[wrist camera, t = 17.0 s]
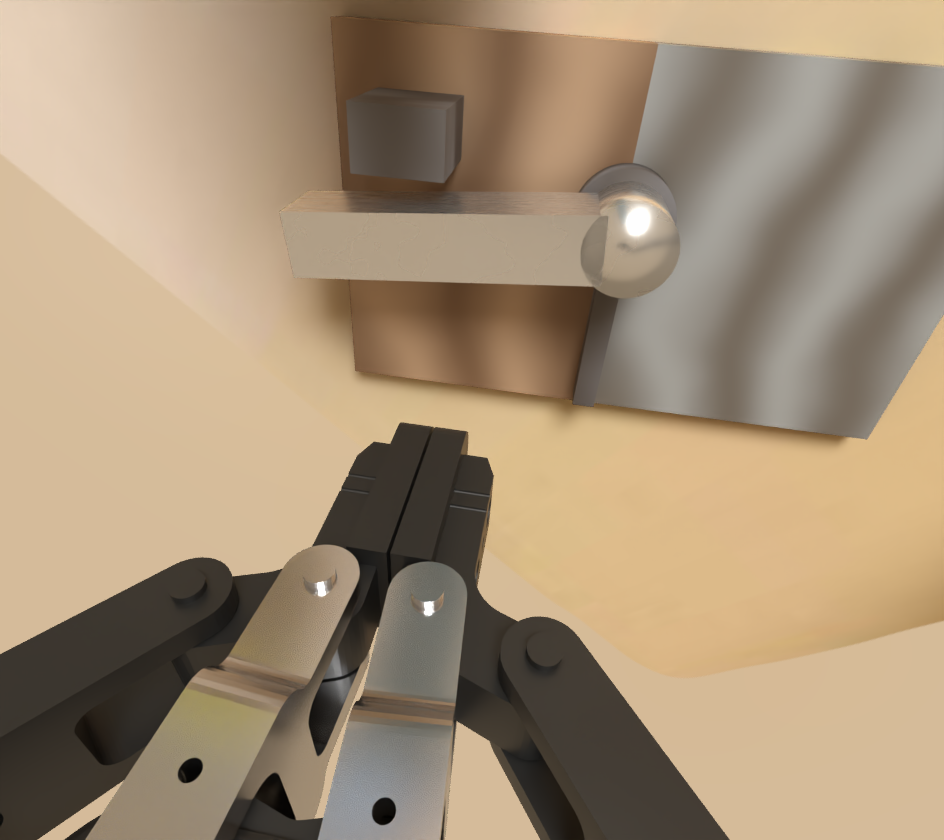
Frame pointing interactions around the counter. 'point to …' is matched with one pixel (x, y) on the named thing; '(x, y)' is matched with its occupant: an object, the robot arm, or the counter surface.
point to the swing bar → (487, 237)
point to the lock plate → (690, 205)
